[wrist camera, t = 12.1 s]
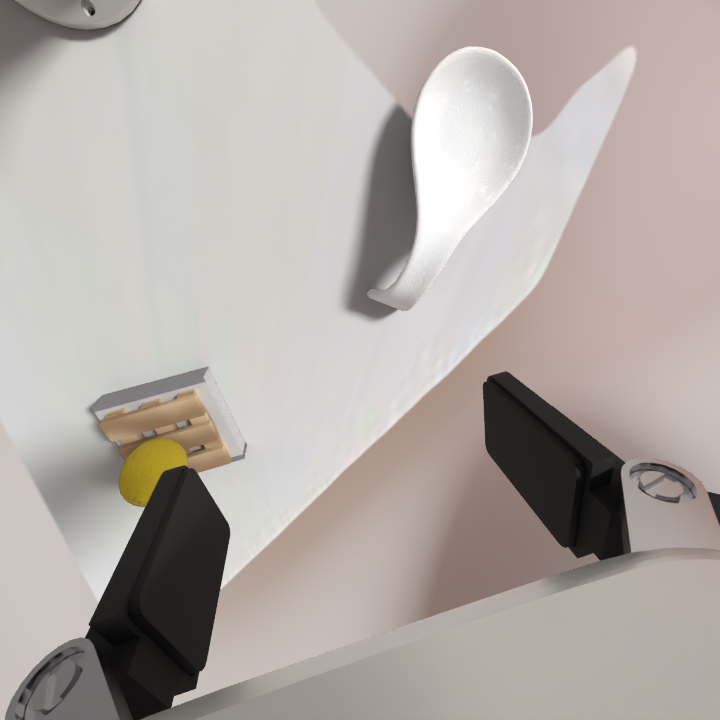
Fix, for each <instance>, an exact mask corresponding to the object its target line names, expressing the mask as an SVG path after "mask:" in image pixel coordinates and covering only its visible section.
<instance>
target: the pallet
mask: <svg viewBox="0 0 720 720" xmlns="http://www.w3.org/2000/svg"><path fill="white" fill-rule="evenodd" d="M176 398H177V399H175V400H171V401H168V402H163V400H162V399H161V398H158V399H154V400H150V401H147V402H144V403H143V404H142V406H141V407H140V408H141V409H139V410H135V411H132V412H128V410H127V409H126V407H125V408H121V409H118V410H114V411H110V412H108V413H107V414H106V415H105V417H104V418H105V419H103V420H101V421H100V423H99V424H98V425H99V426H100V428H101V429H102V430H103V432H104V433H105V434H106V436H107V437H108V438H109V440H110V441H111V442H112V441H115V440H119V439H120V441H121V442H122V443H123V445H120V447H119V448H118V450H117V451H118V452H119V453H120V455H121V456H122V457H123V459H124V460H125V461H126V460H127V458H128V457H129V455H130V454H131V453H132V452H133V451H134V450H135V449H136V448H137V447H139V446H140V445H141V444H143V443H145V442H147V441H150V440H153V439H159V438H165V439H171V440H174V441H176V442H177V443H179V444H180V445H181V446H182V447H183V448H184V450H185V452H186V454H187V458H188V466H187V467H188V468H189V469H190V468H193V469H195V471H196V472H197V473H199V472H202V471H205V470H209V469H212V468H216V467H219V466H222V465H226V464H229V463H230V462H231V454H230V452H229V450H228V448H227V446H226V445H225V443H224V441H223V439H222V437H221V435H220V433H219V431H218V429H217V428H216V426H215V424H214V422H213V420H212V418H211V416H210V414H209V412H208V411H207V409H206V407H205V405H204V403H203V401H202V399H201V397H200V395H199V394H198V392H197V390H196V388H194V389H190V390H187V391H183V392H179V394H178V395H177V397H176ZM186 420H189V421H190V422H191V424H192V425H190V426H187V427H183V428H180V429H179V427H178V426H177V424H176V423H179V422H183V421H186ZM154 429H155V431H156V432H157V434H158V435H155V436H151V437H148V438H146V437H145V436H144V434H143V433H144V432H147V431H151V430H154ZM200 445H204V447H205V449H203V450H200V451H196V452H193V451H192V449H191V448H193V447H197V446H200Z"/></svg>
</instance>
